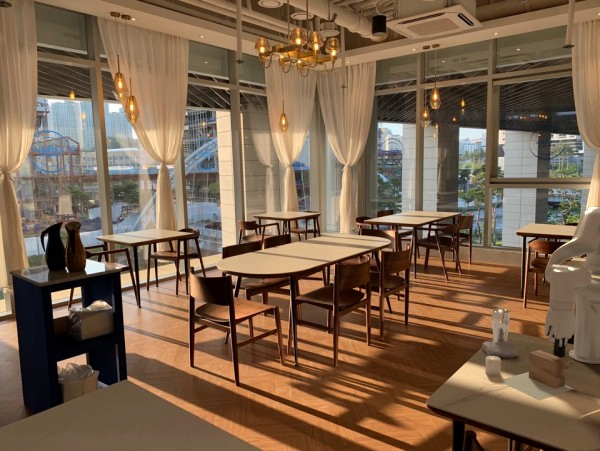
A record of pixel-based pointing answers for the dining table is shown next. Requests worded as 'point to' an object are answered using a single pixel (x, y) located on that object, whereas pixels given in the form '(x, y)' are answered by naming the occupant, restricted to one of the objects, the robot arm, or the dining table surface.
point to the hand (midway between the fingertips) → (559, 356)
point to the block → (547, 369)
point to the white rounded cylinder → (493, 366)
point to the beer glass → (500, 324)
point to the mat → (533, 386)
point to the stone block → (500, 349)
